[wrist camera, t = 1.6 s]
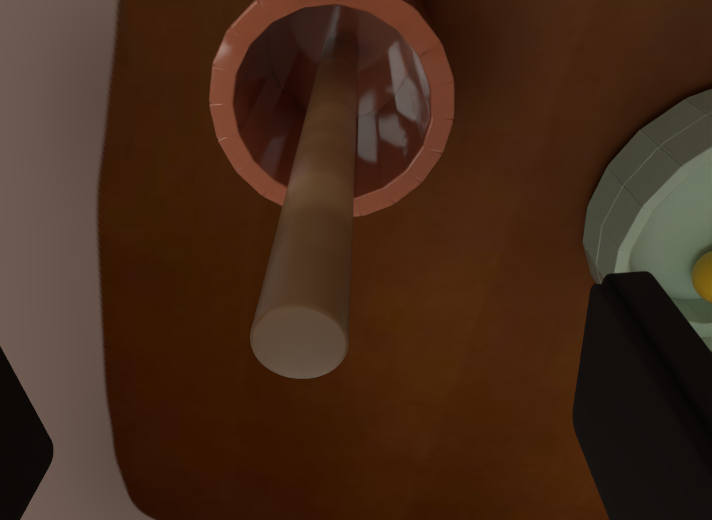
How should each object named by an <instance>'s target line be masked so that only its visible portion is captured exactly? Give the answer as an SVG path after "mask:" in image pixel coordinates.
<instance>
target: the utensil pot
mask: <svg viewBox="0 0 712 520" xmlns="http://www.w3.org/2000/svg"><path fill="white" fill-rule="evenodd" d="M338 31H343V32H347V33H349V34H351V35H352V36H353V37H354V38H355V40H356V41H357V44H358V48H359V55H358V84H357V114H356V144H355V174H354V204H353V217H356V216H361V215H362V216H365V215H367V214H370V213H373V212H375V211H378V210H381V209H383V208H386V207H389V206H391V205H394V203H396V202H397V201H399V200H400V199H401V198H403V197H404V196H405V195H407V194H408V193H409V192H411V191H412V190H413V189H415V188H416V187H417V186H419V185H420V184H421V182H423V181H424V180H425V178H426V177H427V175H428V174H429V173H430V171H431V170H432V168H433V167H434V166H435V164H436V163H437V162H438V160H439V159H440V157H441V156H442V153H443V152H444V150H445V147H446V143H447V140H448V137H449V134H450V131H451V128H452V125H453V122H454V119H453V118H454V117H455V82H454V77H453V74H452V71H451V68H450V65H449V62H448V59H447V56H446V53H445V50H444V47H443V44H442V42H441V40H440V38H439V36H438V34H437V32H436V30H435V28H434V26H433V24H432V22H431V20H430V18H429V16H428V14H427V12H426V10H425V8H424V6H423V4H422V2H421V0H254V1H253V2H252V3H251V4H250V5H249V6H248V7H247V8H246V9H245V10H244V11H243V12H242V14H241V15H240V16H239V17H238V18H237V19H236V20H235V21H234V22H233V23H232V24H231V25H230V27H229V28H228V29H227V31H226V33H225V36H224V38H223V40H222V42H221V45H220V47H219V49H218V51H217V53H216V56H215V58H214V60H213V65H212V70H211V81H210V93H209V102H210V103H209V106H210V111H211V115H212V119H213V123H214V128H215V132H216V136H217V138H218V142H219V143H220V145H221V147H222V149H223V150H224V152H225V154H226V155H227V157H228V159H229V160H230V162H231V164H232V166H233V167H234V169H235V170H236V171H237V173H238V174H239V175H240V176H241V177H242V178H243V179H245V180H246V181H247V182H248V183H249V184H250V185H251V186H252V187H253V188H254V189H255V190H256V191H257V192H258V193H259V194H261V195H263V196H264V197H266V198H268V199H270V200H271V201H273V202H275V203H277V204H279V205H281V206H283V203H284V199H285V195H286V191H287V187H288V183H289V179H290V175H291V171H292V167H293V163H294V159H295V155H296V152H297V148H298V144H299V140H300V136H301V132H302V128H303V124H304V120H305V116H306V112H307V108H308V104H309V100H310V96H311V93H312V89H313V85H314V81H315V77H316V73H317V69H318V65H319V61H320V57H321V53H322V49H323V45H324V42H325V40H326V39H327V37H328V36H329V35H331V34H332V33H334V32H338Z"/></svg>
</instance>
